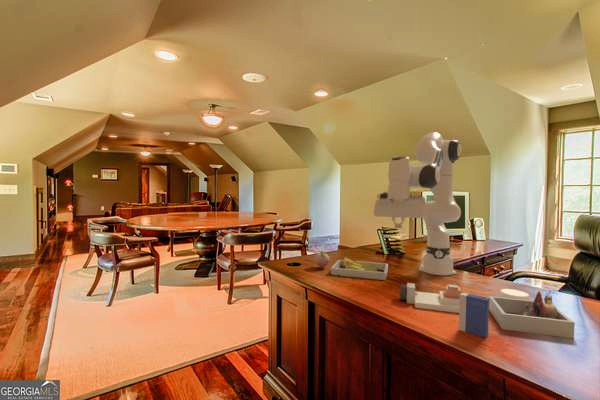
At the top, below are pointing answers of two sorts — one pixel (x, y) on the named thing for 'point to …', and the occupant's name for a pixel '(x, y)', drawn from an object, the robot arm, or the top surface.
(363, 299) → the top surface
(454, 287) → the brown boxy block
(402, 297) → the wheel
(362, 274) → the sorting frame
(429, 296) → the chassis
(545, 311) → the brake caliper
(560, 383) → the top surface
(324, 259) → the decorative fruit
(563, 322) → the tray
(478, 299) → the walkman
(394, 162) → the robot arm
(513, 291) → the coaster
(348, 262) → the plastic component
